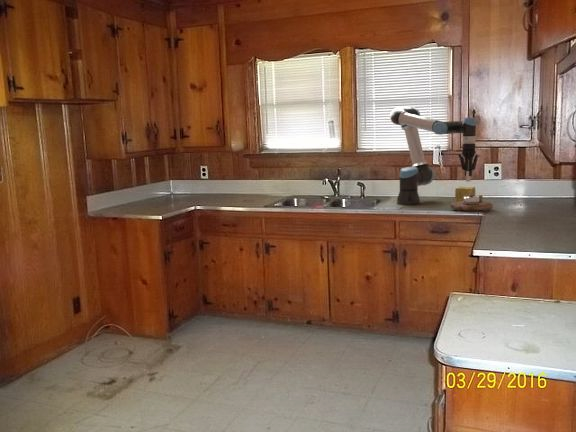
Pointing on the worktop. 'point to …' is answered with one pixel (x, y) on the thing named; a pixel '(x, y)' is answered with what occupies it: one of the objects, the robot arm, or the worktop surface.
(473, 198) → the cover
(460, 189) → the cheese
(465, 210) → the turntable base
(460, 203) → the turntable
